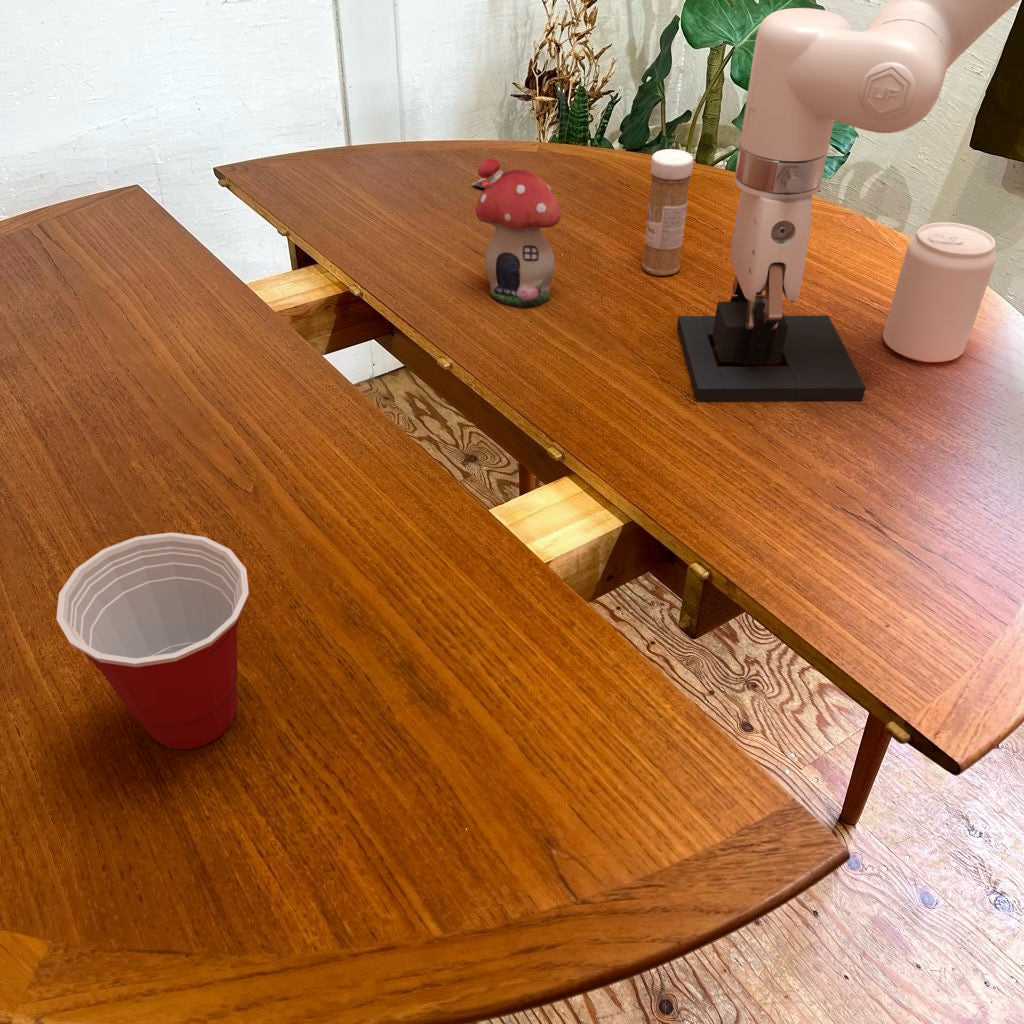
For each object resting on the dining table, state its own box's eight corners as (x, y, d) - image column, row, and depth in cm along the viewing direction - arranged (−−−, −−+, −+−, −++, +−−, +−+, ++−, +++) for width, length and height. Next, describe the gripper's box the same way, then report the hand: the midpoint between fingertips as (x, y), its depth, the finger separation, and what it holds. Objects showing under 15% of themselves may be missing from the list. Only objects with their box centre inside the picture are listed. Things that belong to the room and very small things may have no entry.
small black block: (770, 336, 99) (777, 301, 96) (780, 362, 95) (788, 326, 92) (712, 336, 99) (717, 301, 96) (720, 362, 95) (726, 326, 92)
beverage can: (963, 373, 96) (1003, 261, 88) (879, 359, 98) (910, 249, 90) (962, 334, 102) (999, 226, 94) (882, 322, 104) (912, 215, 96)
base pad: (825, 327, 103) (828, 315, 102) (862, 400, 92) (865, 387, 91) (676, 328, 103) (678, 315, 102) (696, 401, 92) (698, 388, 91)
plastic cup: (269, 778, 60) (233, 652, 53) (94, 790, 60) (31, 664, 52) (286, 648, 69) (257, 522, 61) (132, 658, 68) (82, 532, 60)
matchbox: (501, 194, 130) (500, 191, 130) (468, 187, 132) (468, 184, 132) (517, 183, 133) (517, 179, 133) (485, 176, 135) (485, 173, 135)
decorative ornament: (468, 293, 109) (463, 162, 99) (500, 271, 113) (498, 143, 104) (538, 315, 105) (540, 180, 96) (568, 291, 109) (573, 160, 100)
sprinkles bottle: (637, 261, 115) (647, 149, 106) (673, 258, 116) (686, 146, 107) (647, 279, 112) (658, 164, 103) (685, 276, 112) (699, 161, 104)
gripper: (848, 206, 78) (803, 394, 90) (799, 133, 91) (766, 305, 103) (756, 207, 78) (723, 394, 90) (720, 133, 91) (696, 305, 103)
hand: (747, 345), depth 96 cm, fingers closed on small black block, 4 cm apart
